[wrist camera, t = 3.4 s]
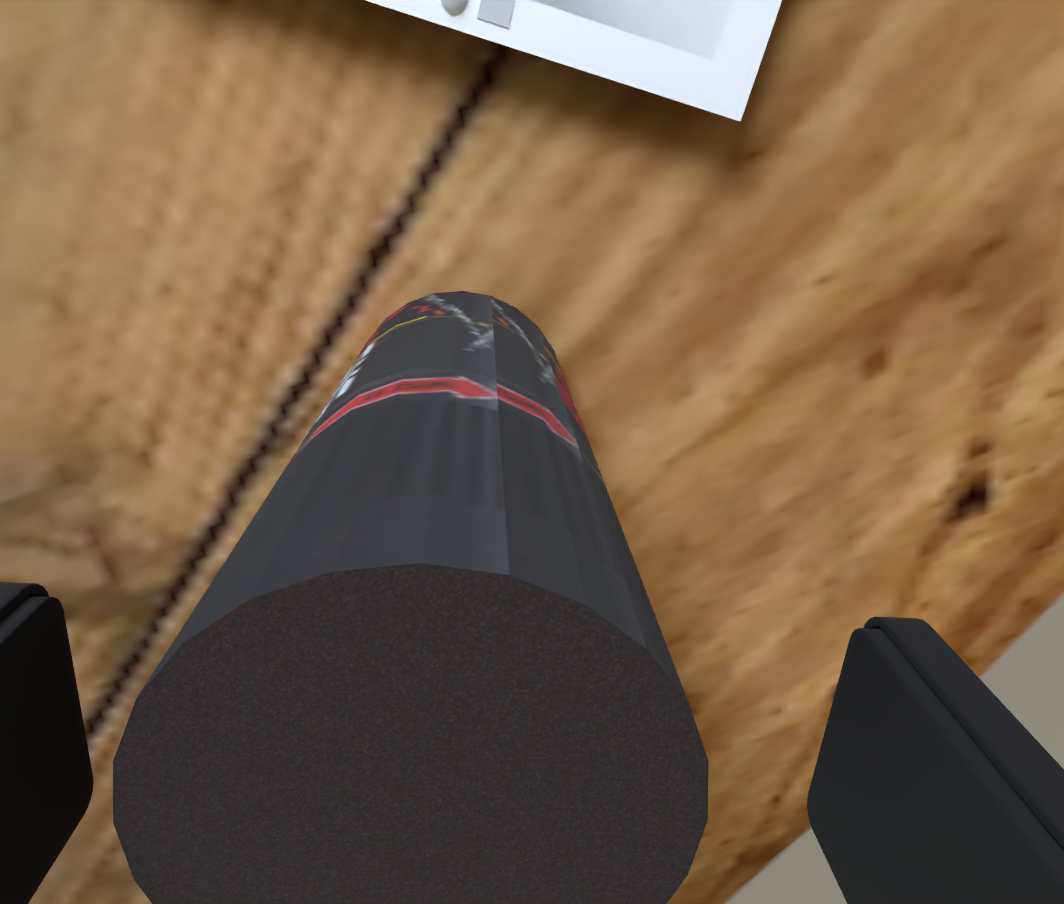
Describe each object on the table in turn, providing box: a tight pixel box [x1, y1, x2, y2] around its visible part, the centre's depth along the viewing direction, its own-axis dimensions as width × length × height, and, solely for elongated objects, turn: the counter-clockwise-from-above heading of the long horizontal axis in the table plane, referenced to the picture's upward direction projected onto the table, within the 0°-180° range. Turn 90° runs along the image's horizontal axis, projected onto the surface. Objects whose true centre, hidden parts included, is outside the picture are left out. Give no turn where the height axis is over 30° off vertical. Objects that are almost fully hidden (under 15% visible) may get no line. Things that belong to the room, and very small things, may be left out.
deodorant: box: [113, 291, 708, 904], centre depth 15 cm, size 6×6×15 cm
